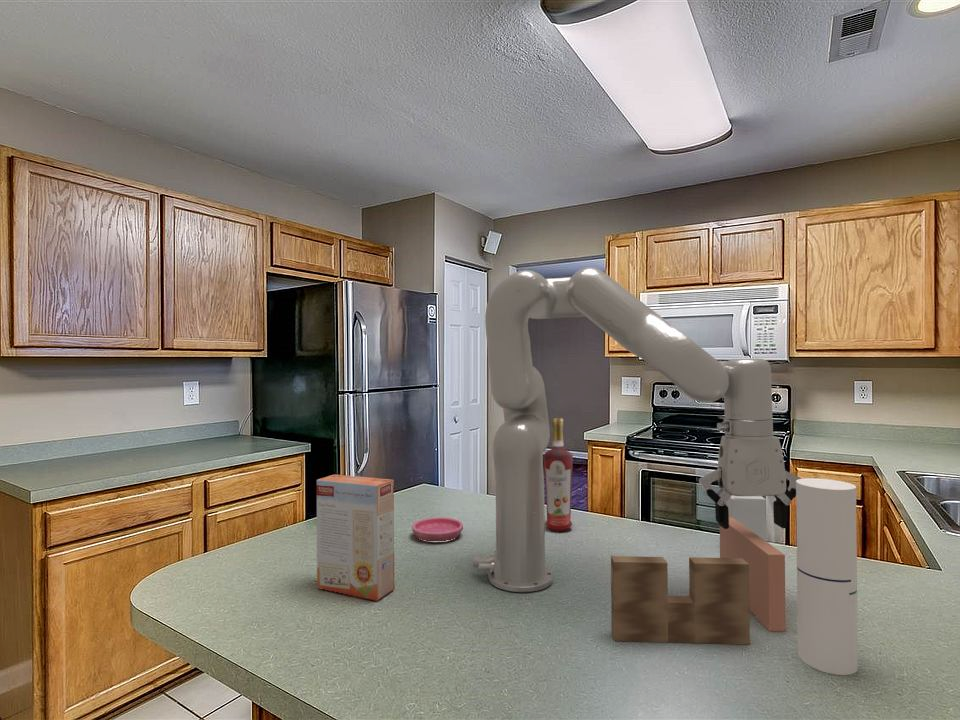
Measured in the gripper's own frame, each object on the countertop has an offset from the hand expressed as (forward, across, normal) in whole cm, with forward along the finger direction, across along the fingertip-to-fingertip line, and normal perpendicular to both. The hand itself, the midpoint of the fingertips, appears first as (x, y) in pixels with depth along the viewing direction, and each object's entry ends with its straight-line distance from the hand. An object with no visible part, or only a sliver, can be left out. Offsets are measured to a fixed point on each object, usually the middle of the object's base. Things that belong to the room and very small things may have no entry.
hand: (751, 526), depth 94 cm
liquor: (+13, -31, +40) cm, 52 cm away
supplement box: (+14, +9, +26) cm, 31 cm away
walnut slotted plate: (+13, -17, -13) cm, 25 cm away
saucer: (+12, -61, +33) cm, 70 cm away
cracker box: (+12, -72, +2) cm, 73 cm away
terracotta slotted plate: (+13, -1, 0) cm, 13 cm away
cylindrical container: (+14, +2, -18) cm, 23 cm away
